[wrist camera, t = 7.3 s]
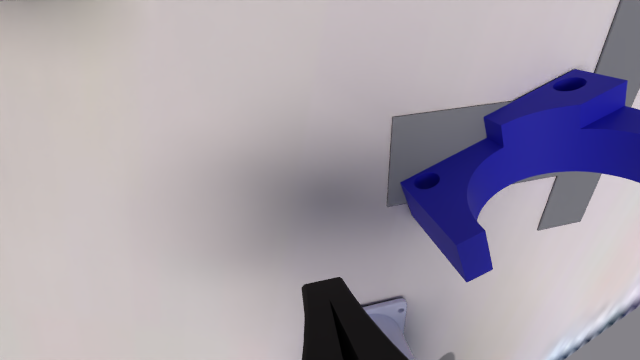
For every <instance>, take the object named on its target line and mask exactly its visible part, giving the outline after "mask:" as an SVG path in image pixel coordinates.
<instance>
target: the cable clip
mask: <svg viewBox="0 0 640 360" xmlns="http://www.w3.org/2000/svg"><path fill="white" fill-rule="evenodd" d="M627 82H628V80H624V79H619V78H614V77H610V76H605V75H600V74H596V73H591V72H586V71H581V70H577V69H574V70H572V71H571V72H569V73H567V74H565V75H563V76H561V77H559V78H557V79H555V80H553V81H551V82H549V83H548V84H546V85H544V86H542V87H540V88H538V89H536V90H534V91H532V92H530V93H528V94H526V95H524V96H523V97H521V98H519V99H517V100H515V101H513V102H511V103H509V104H507V105H505V106H504V107H502V108H500V109H498V110H496V111H494V112H492V113H490V114H488V115H486V116H484V123H485V130H486V136H487V138H485V139H483V140H481V141H479V142H477V143H475V144H473V145H472V146H470V147H468V148H466V149H464V150H462V151H460V152H458V153H456V154H454V155H452V156H450V157H448V158H446V159H445V160H443V161H441V162H439V163H437V164H435V165H433V166H431V167H429V168H427V169H425V170H423V171H421V172H420V173H418V174H416V175H414V176H412V177H410V178H408V179H406V180H404V181H402V182H400V184H401V187H402V189H403V192H404V195H405V197H406V200H407V203H408V206H409V208H410V211H411V214H412V216H413V217H414V218H415V220H416V221H417V222H418V223H419V225H420V226H421V227H422V228H423V230H424V231H425V232H426V233H427V234H428V236H429V237H430V238H431V239H432V241H433V242H434V243H435V244H436V245H437V247H438V248H439V249H440V250H441V252H442V253H443V254H444V255H445V257H446V258H447V259H448V260H449V261H450V263H451V264H452V265H453V266H454V268H455V269H456V270H457V271H458V272H459V274H460V275H461V276H462V277H463V279H464V280H465V281H466V282H469V281H471V280H473V279H475V278H477V277H479V276H481V275H483V274H485V273H487V272H489V271H491V270H492V269H493V267H492V262H491V257H490V252H489V247H488V242H487V237H486V232H485V230H484V229H483V228H482V227H481V226H480V225H479V223H478V222H477V218H478V215H479V213H480V211H481V209H482V208H483V206H484V205H485V204H486V202H487V201H488V200H489V199H490V198H491V197H492V196H493V195H495V194H496V193H497V192H499V191H500V190H502V189H503V188H505V187H507V186H509V185H511V184H513V183H515V182H517V181H520V180H523V179H526V178H529V177H533V176H536V175H541V174H547V173H554V172H572V171H578V172H594V173H602V174H609V175H614V176H618V177H622V178H626V179H630V180H633V181H636V182H639V183H640V110H638V109H634V108H631V107H627V106H625V101H626V91H627Z"/></svg>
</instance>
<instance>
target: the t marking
mask: <svg viewBox="0 0 640 360" xmlns="http://www.w3.org/2000/svg"><path fill="white" fill-rule="evenodd" d="M595 73H596V74H600V75H605V76H610V77H614V78H619V79H624V80H628V82H627V91H626V101H625V106H627V107H631V106H632V104H633V102H634V99H635V97H636V95H637V93H638V90H639V88H640V0H621V1H620V4H619V7H618V9H617V12H616V15H615V18H614V20H613V23H612V26H611V29H610V31H609V34H608V37H607V40H606V42H605V45H604V48H603V51H602V53H601V56H600V59H599V62H598V64H597V67H596V70H595ZM511 102H513V101H509V102H501V103H494V104H486V105H479V106H471V107H464V108H456V109H449V110H441V111H434V112H426V113H419V114H411V115H404V116H396V117H393V118H392V133H391V149H390V165H389V181H388V197H387V207H390V206H396V205H401V204H406V203H407V200H406V197H405V195H404V192H403V189H402V187H401V184H400V182H402V181H404V180H406V179H408V178H410V177H412V176H414V175H416V174H418V173H420V172H421V171H423V170H425V169H427V168H429V167H431V166H433V165H435V164H437V163H439V162H441V161H443V160H445V159H446V158H448V157H450V156H452V155H454V154H456V153H458V152H460V151H462V150H464V149H466V148H468V147H470V146H472V145H473V144H475V143H477V142H479V141H481V140H483V139H485V138H487V136H486V130H485V123H484V116H486V115H488V114H490V113H492V112H494V111H496V110H498V109H500V108H502V107H504V106H505V105H507V104H509V103H511ZM601 174H602V173H594V172H578V171H572V172H554V173H547V174H541V175H536V176H533V177H529V178H526V179H523V180H520V181H517V182H515V183H521V182H526V181H531V180H537V179H542V178H548V177H553V176H557V177H556V180H555V183H554V185H553V188H552V191H551V194H550V196H549V199H548V202H547V205H546V207H545V210H544V213H543V216H542V218H541V221H540V224H539V227H538V229H537V230H538V231H539V230H543V229H548V228H553V227H557V226H562V225H566V224H571V223H576V222H580V221H581V219H582V217H583V215H584V213H585V210H586V208H587V206H588V204H589V201H590V199H591V197H592V195H593V192H594V190H595V188H596V185H597V183H598V181H599V179H600V176H601ZM515 183H513V184H515Z"/></svg>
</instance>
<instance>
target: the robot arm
mask: <svg viewBox="0 0 640 360" xmlns="http://www.w3.org/2000/svg"><path fill="white" fill-rule="evenodd" d="M302 296H303V305H304V314H305V326H304V345H303V355H302V360H415V358H414V356H413V354H412V352H411V350H410V348H409V346H408V344H407V342H406V340H405V338H404V336H403V334H404V326H405V318H406V310H407V302H406V300H405V299H403V298H399V299H395V300H391V301H387V302H383V303H378V304H374V305H370V306H366V307H362V306H361V305H360V304H359V302H358V301H357V300H356V298H355V297H354V296H353V294H352V293H351V291H350V290H349V288H348V287H347V285H346V284H345V282H344V281H343V279H342V278H340V277H337V278H332V279H328V280H323V281H318V282H314V283H309V284H305V285H304V286H303V287H302Z"/></svg>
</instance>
